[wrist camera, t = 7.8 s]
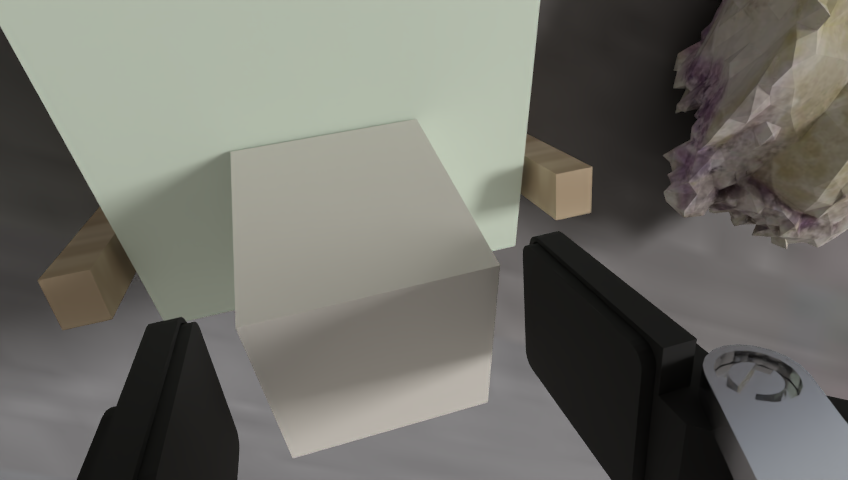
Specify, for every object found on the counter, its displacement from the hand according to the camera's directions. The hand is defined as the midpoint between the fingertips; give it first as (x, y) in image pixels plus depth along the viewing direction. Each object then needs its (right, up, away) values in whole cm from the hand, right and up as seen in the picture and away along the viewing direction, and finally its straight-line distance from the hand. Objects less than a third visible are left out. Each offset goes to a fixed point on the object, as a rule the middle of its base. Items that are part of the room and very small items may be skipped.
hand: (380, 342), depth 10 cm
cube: (-2, +3, +5) cm, 6 cm away
